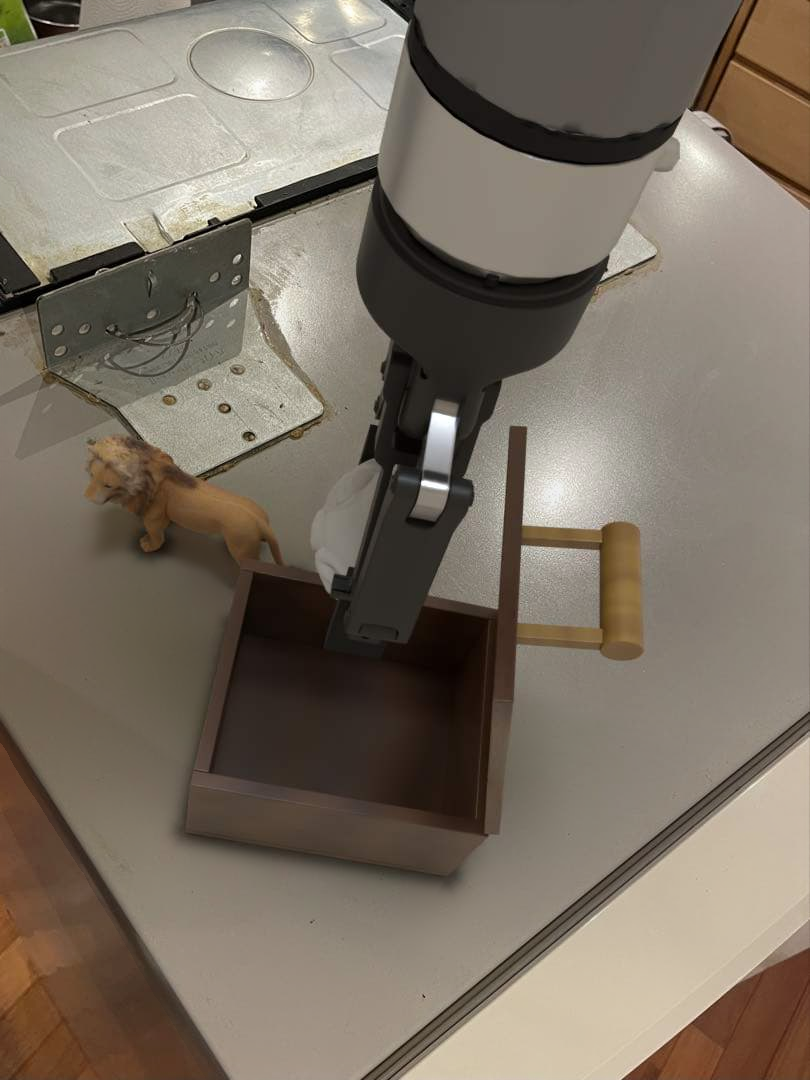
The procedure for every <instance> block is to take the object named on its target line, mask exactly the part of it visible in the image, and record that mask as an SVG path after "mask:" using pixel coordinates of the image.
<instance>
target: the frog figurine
mask: <svg viewBox="0 0 810 1080" xmlns="http://www.w3.org/2000/svg"><path fill="white" fill-rule="evenodd" d="M380 470H381V466H380V465H379V464H378V463H377V462H376V461H375V458H374V459H370V460H368V461H366V462H364V463H362V464H360V465H359V466H358V465H357V466H356V467H354V468H352V469H351V470H349V471H348V472H347V473H346V474H344V475H343V476H342V477H341V478H340V479H339V480H338V481H337V482H336V483H335V484H334V485H333V486H332V488H331V490H330V491H329V493H328V494H327V497H326V499H325V503H324V505H323V507H322V508H321V509H319V510H318V512H317V513H316V514H315V515H314V518H313V521H312V524H311V528H310V541H309V542H310V547H311V549H312V550H313V551H315V555H314V564H315V569H316V571H317V573H319V575H320V578H321V580H322V582H323V584H324V586H325V589H326V591H327V592H328V593H329V594H330V591H331V585H332V580H333V576H334V573H335V574H340V575H345V576H346V573H347V570H348V567H349V566H350V567H355V564H356V560H357V557H358V553H359V549H360V545H361V542H362V538H363V534H364V530H365V527H366V523H367V519H368V515H369V512H370V508H371V504H372V500H373V497H374V493H375V489H376V485H377V481H378V478H379V474H380ZM335 599H336V598H335ZM336 600H337V601H338V599H336Z"/></svg>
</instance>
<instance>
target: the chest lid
mask: <svg viewBox="0 0 810 1080" xmlns="http://www.w3.org/2000/svg"><path fill="white" fill-rule="evenodd" d="M508 428H509V429H508V430H509V431H508V443H507V458H506V459H507V462H506V476H505V492H504V509H503V520H502V521H503V523H502V538H501V551H500V552H501V554H500V557H501V558H500V568H499V569H500V570H499V584H498V585H499V586H498V599H497V600H498V601H497V609H498V614H497V631H496V647H495V663H494V679H493V695H492V711H491V727H490V743H489V759H488V775H487V791H486V807H485V823H484V833H485V834H489V835H494V836H499V835H500V832H501V822H502V815H503V813H502V811H503V804H504V795H505V787H506V786H505V785H506V777H507V769H508V758H509V751H510V750H509V748H510V741H511V740H510V739H511V731H512V721H513V714H514V713H513V712H514V705H515V704H514V703H515V688H516V687H515V685H516V684H515V683H516V665H517V663H516V662H517V645H520V646H521V645H523V646H535V647H548V648H549V647H550V648H562V649H576V650H587V651H588V650H591V651H599V653H600V654H601V656H602V657H604V658H606V659H608V660H610V661H611V660H612V661H617V662H626V661H627V662H628V661H633V660H636V659H638V658H640V657H641V656H642V655H643V654H644V652H645V644H644V640H645V639H644V611H643V610H644V609H643V607H644V606H643V575H642V574H643V573H642V540H641V537H642V536H641V530H640V528H639V527H638V526H637V525H636V524H634V523H632V522H629V521H622V520H621V521H611V522H609V523H607V524H605V525H603V526H602V527H601V528H600V529H592V528H591V529H589V528H572V527H556V526H539V525H525V524H524V525H523V523H524V504H525V501H524V500H525V482H526V480H525V479H526V461H527V441H528V427H527V426H525V425H510V426H509V427H508ZM522 546H523V547H524V546H525V547H539V548H540V547H541V548H554V549H555V548H557V549H571V550H589V551H598V557H599V558H598V560H599V561H598V563H599V564H598V565H599V566H598V568H599V569H598V571H599V572H598V576H599V577H598V578H599V580H598V583H599V587H598V589H599V590H598V591H599V593H598V594H599V595H598V597H599V598H598V600H599V601H598V602H599V606H598V607H599V611H598V612H599V613H598V614H599V617H598V618H599V619H598V622H599V623H598V624H599V625H598V626H599V627H583V626H569V625H556V624H544V623H543V624H541V623H528V622H527V623H526V622H519V606H520V604H519V603H520V602H519V601H520V582H521V564H522V563H521V562H522Z"/></svg>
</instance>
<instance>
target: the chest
mask: <svg viewBox="0 0 810 1080" xmlns="http://www.w3.org/2000/svg"><path fill="white" fill-rule="evenodd" d="M297 568H298V567H297ZM297 568H292V567H287V566H282V565H277V564H276V563H271V562H267V561H262V560H260V561H257V560H252V559H247V558H243V559H242V563H241V567H240V568H239V572H238V577H237V579H236V580H237V581H236V585H235V590H234V594H233V598H232V603H231V607H230V611H229V615H228V619H227V624H226V628H225V632H224V637H223V642H222V645H221V650H220V655H219V659H218V662H217V667H216V670H215V675H214V679H213V685H212V688H211V693H210V697H209V701H208V706H207V710H206V715H205V719H204V722H203V727H202V731H201V736H200V740H199V744H198V745H199V746H198V749H197V753H196V758H195V762H194V767H193V771H192V775H191V779H190V784H189V790H188V791H189V793H188V799H187V800H188V801H187V812H186V820H185V831H184V832H185V833H186V834H190V835H191V834H192V835H196V836H202V837H209V838H215V839H221V840H226V841H227V840H228V841H233V842H239V843H246V844H250V845H257V846H262V847H267V848H275V849H280V850H287V851H292V852H299V853H303V854H304V853H305V854H311V855H315V856H316V855H317V856H321V857H328V858H335V859H340V860H345V861H352V862H359V863H365V864H369V865H376V866H381V867H388V868H394V869H399V870H406V871H411V872H418V873H424V874H429V875H435V876H440V877H441V876H442V877H448V876H450V874H452V872H454V871H455V870H456V869H457V868H458V867H459V866H460V865H461V864H462V863H463V862H464V861H465V860H466V859H467V858H468V857H469V856H471V855H472V854H473V852H475V851H476V850H477V849H478V848H479V847H480V846H481V845H483V843H484V842H485V841H486V840H487V839H488V838H489V837H490V834H485V833H484V823H485V807H486V791H487V775H488V759H489V743H490V727H491V711H492V695H493V679H494V663H495V647H496V631H497V614H498V608H493V607H489V606H483V605H479V604H473V603H468V602H464V601H459V600H455V599H450V598H444V597H440V596H434V595H429V594H428V595H427V597H426V599H425V602H424V604H423V607H422V609H421V611H420V614H419V616H418V619H417V621H416V623H415V626H414V629H413V634H412V636H410V638H409V640H408V642H407V644H402V643H397V642H390V641H389V642H388V644H387V646H386V648H385V651H384V653H383V655H382V657H381V659H380V660H379V659H374V658H368V657H363V656H357V655H352V654H347V653H341V652H336V651H331V650H325V649H324V645H325V639H326V634H327V631H328V628H329V625H330V622H331V619H332V616H333V613H334V610H335V607H336V604H337V600H336V599H335V598H331V597H330V594H329V593H328V592H327V591H326V589H325V586H324V584H323V582H322V580H321V578H320V575H319V573H318V572H316V571H311V570H306V569H304V570H302V569H303V568H301V569H297Z"/></svg>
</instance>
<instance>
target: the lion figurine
mask: <svg viewBox="0 0 810 1080" xmlns="http://www.w3.org/2000/svg"><path fill="white" fill-rule="evenodd" d="M86 449H87V454H86V460H85V465H84V471H85V472H86V473H87V475H88V478H89V481H88V484H86V486H85V487H84V489H83V492H82V493H83V497H84V498H85V499H86V500H87V501H89V502H90V503H92V504H93V505H95V506H96V507H100V506H103V505H104V504H106V503H108V502H109V503H112V504H115V505H119V504H120V505H121V507H122V509H123V510H126V512H127V513H128V514H129V513H132V514H133V515H135V516H137V517H141V518H142V522H143V525H144V528H145V531H146V532H147V534H145V535H144V536H143V537H142V538H140V540H139V542H140V548H141V549H142V550H143V551H144V552H145V553H151V552H154V551H157V550H158V549H160V548H161V546H162V544H163V543H164V542H165V535H164V530H165V529H166V528H167V527H168V526H169V525H170V523H171V521H172V522H174V523H176V524H178V525H179V526H182V527H184V528H186V529H189V530H191V531H194V532H198V533H201V534H205V535H212V536H214V535H219V536H221V537H222V538H223V539H224V540H225V542H226V546H227V549H228V551H229V553H230V555H231V556H232V558H233V559H234V561H235V562H236V563H237V565H238V566H239V567H240V568H241V563H242V559H243V558H247V559H252V560H257V561H261V560H260V556H259V553H260V548H261V545H262V542H263V543H267V544H268V548H269V550H270V554H271V556H272V558H273V561H274V562H275V564H277V565H282V566H287V567H292V568H297V569H302V570H305V569H304V568H301V567H296V566H294V565H287V564H285V561H284V559H283V557H282V552H281V549H280V545H279V542H278V539H277V538H276V536H275V533H274V531H273V529H272V528H271V526H270V518H269V516H268V513H267V512H266V510H265V509H263V508H262V507H261V506H260V505H259V504H258V503H256V502H255V501H254V500H253V499H252V498H250V497H248V496H246V495H243V494H242V495H241V494H238V493H234V492H231V491H227V490H225V489H223V488H220V487H219V486H216V485H214V484H212V483H209V482H208V481H205V480H203V479H201V478H199V477H197V476H194V475H192V474H190V473H189V472H186V471H184V470H183V469H181V468H180V466H179V465H177V464H175V463H174V459H173V457H172V456H171V455H170V454H169V453H167V452H166V451H162V448H160V447H157V446H154V445H152V444H149V443H148V442H147V441H145V440H142V439H137V438H136V437H134V436H133V435H128V436H127V435H123V434H121V433H115V434H110V435H108V436H105V437H102V438H99V439H98V441H96V442H95V443H94V445H93V444H92V445H91V444H90V445H86Z"/></svg>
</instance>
